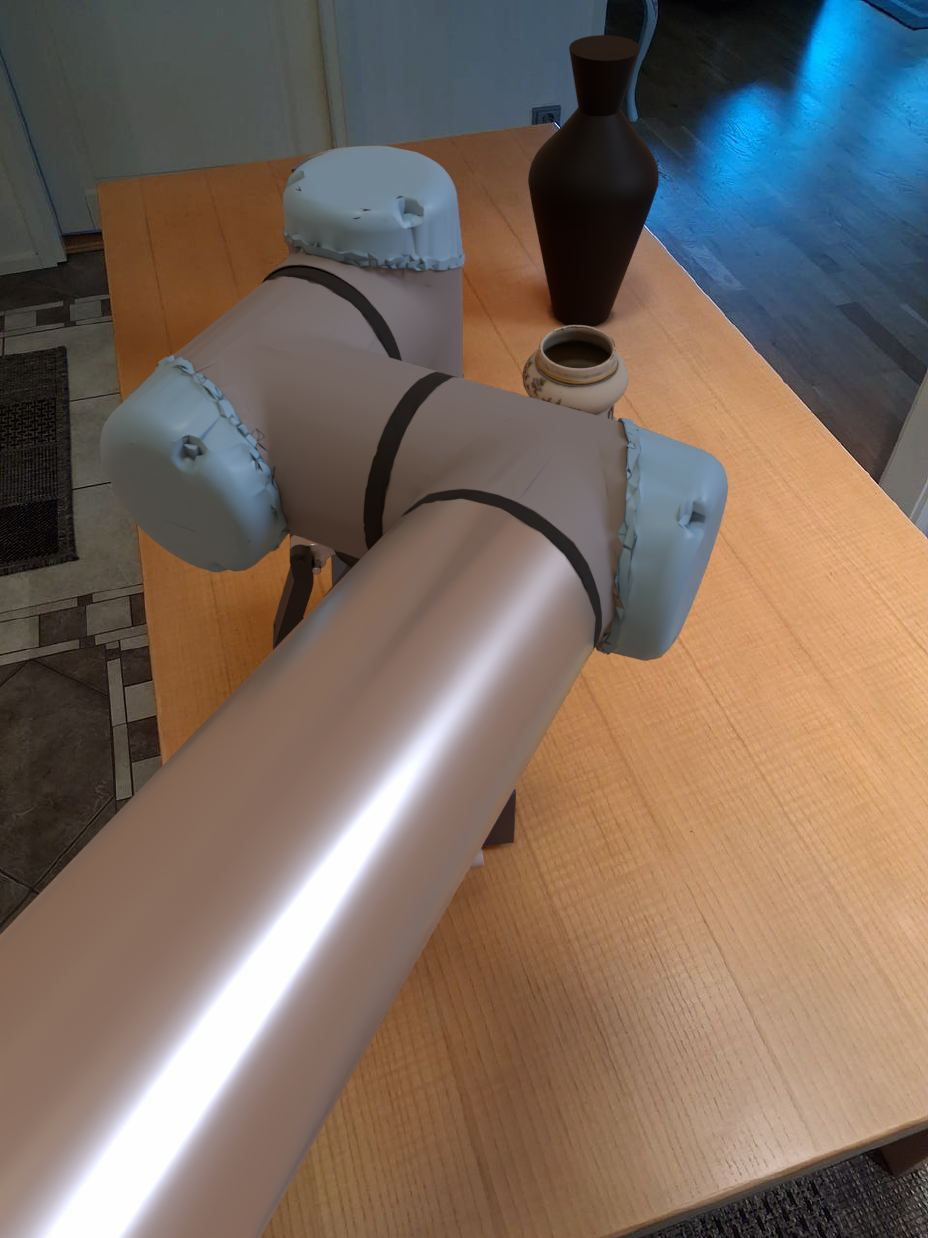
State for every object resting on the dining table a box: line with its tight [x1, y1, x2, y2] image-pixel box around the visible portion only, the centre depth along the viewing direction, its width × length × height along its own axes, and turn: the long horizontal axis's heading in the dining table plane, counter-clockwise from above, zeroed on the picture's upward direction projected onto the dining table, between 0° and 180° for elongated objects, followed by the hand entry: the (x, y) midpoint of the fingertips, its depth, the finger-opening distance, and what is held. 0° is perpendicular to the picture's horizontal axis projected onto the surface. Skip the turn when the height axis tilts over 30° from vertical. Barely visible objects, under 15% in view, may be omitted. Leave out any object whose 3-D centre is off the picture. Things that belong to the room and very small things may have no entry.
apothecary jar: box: [522, 325, 629, 421], centre depth 104 cm, size 12×12×18 cm
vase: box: [527, 34, 660, 328], centre depth 120 cm, size 17×17×35 cm
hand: (421, 692), depth 65 cm, fingers open, 11 cm apart
